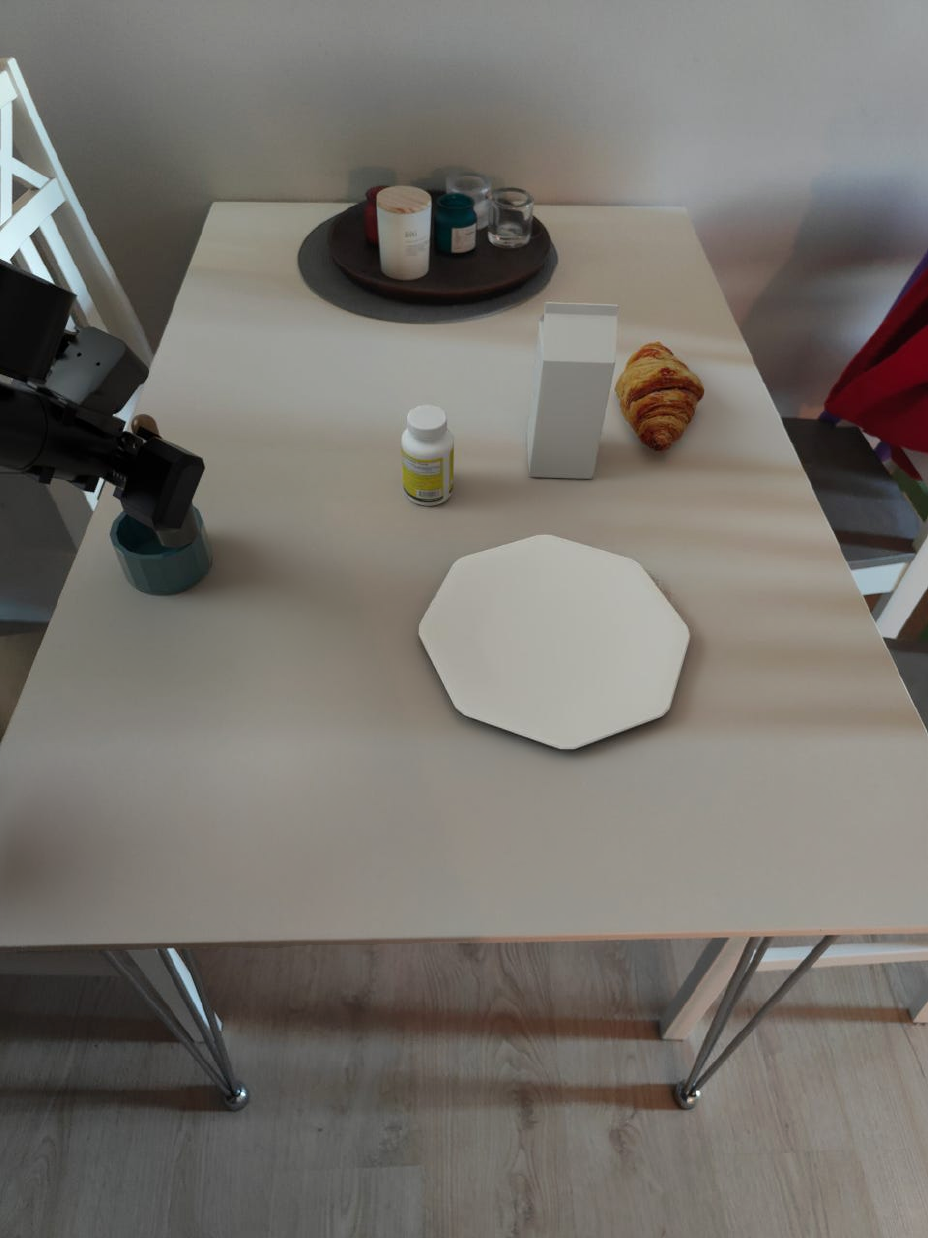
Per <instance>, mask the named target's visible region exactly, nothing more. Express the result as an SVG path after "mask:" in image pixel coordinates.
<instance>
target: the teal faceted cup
mask: <svg viewBox="0 0 928 1238" xmlns="http://www.w3.org/2000/svg"><path fill="white" fill-rule="evenodd" d="M193 506H194V510H195V513H196V517H197V520H198V524H199V527H200V531H199V534H198V536H197V538H196V539H195V540H194V541H193V542H191V543H189V544H187V545H185V546H182V547H176V548H171V547H166V546H163V545H161V544H160V543H159V542H158V541H157V540H156V538H155V535H154V532H153V530H152V528H150V527H148V526H147V525H145V524H143V523H142V522H140V521H138V520H136V519H135V518H133V517H131V516H129V515H128V514H126V513H124V510H123V509H122V511H121V512H120V513H119V515H117V517H115V519H114V520H113V521H112V525H111V527H110V531H109V538H110V541H111V544H112V548H113V550H114V552H115V554H116V557H117V560H118V562H119V565H120V567H121V569H122V571H123V574H124V576H125V578H126V580H127V582H128V583H129V584H130V585H131V586H132V587H133V588H135V589H136V590H138V591H140V592H142V593H144V594H149V595H155V596H166V595H167V596H168V595H173V594H178V593H181V592H184V591H186V590H188V589H190V588H192V587H195V586H196V585H197V584H198V583H200V582H201V581H202V580H203V579H204V578H205V577H206V576H207V574H208V573H209V571H210V569H211V567H212V563H213V551H212V548H211V544H210V539H209V537H208V533H207V530H206V526H205V523H204V519H203V517H202V515H201V512H200V510H199V508H198V507H196V506H195V505H193Z"/></svg>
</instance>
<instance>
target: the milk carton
mask: <svg viewBox="0 0 928 1238" xmlns="http://www.w3.org/2000/svg"><path fill="white" fill-rule="evenodd" d="M619 309H620V305H619V304H615V303H614V304H613V303H612V304H611V303H589V302H588V303H586V302H585V303H583V302H561V301H559V302H558V301H557V302H556V301H545V303H544V311H543V312H542V313H543V314H542V315H541V317H540V319H539V324H538V333H537V339H536V340H537V341H536V351H535V359H534V366H533V367H534V369H533V377H532V386H531V394H530V395H531V396H530V404H529V413H528V422H527V429H526V430H527V431H526V444H527V445H526V446H527V447H526V448H527V462H528V476H529V477H530V478H551V479H579V480H580V479H581V480H591V479H594V474H595V471H596V470H595V469H596V464H597V459H598V454H599V449H600V445H601V438H602V433H603V428H604V427H603V426H604V424H605V418H606V413H607V408H608V402H609V398H610V392H611V388H612V381H613V377H614V373H615V367H616V364H617V363H616V361H617V336H618V334H617V333H618V316H619V315H618V313H619Z"/></svg>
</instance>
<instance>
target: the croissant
mask: <svg viewBox="0 0 928 1238" xmlns="http://www.w3.org/2000/svg"><path fill="white" fill-rule="evenodd" d="M614 392H615V393H616V397H617V398H618V400H619V409H620V411H621V413H622V415H623V417H624V419H625V420H626V421H627V423H628V424H629V426H630V427H631V428H632V429H633V431H634V433H635V434H636V435H637V438H638V439H639V441H640V442H641V444H643V445H644V446H645V447H648V448H649V449H652V450H653V451H655V452H665V451H668V450H669V449H670V448H671V446H672V444H674V443H675V442H677V441H678V440H680V439H681V438H682V436H683V435H684V433H685V430H686V428H687V427H688V426H689V424H691V422H692V420H693V419H694V417H695V414H696V412H697V406H698V403H699V402H700V401H701V400H702V399H703V398H704V395H705V387H704V384H703V383H702V381H701V379H700V378H699V376H698V375H697V374H695V373H693V371H691V370H690V368H689V367H688V365H686V364H685V363H684V362H683V361H682V360H680V359H679V358H678V357H676V356H675V354H674V353H673V351H671V349H670V348H668V347H667V346H665V345H663V344H662V343H661V342H660V341H659V340H657V341H655V342H648V343H646V344H644V345H642V346H641V347H640V348H639V349H638V350H637V351H636V352H634V353H633V354H631V356H630V357H629V358H628V360H627V362H626V364H625V367H624V370H623V372H622V373H621V375H619V377H618V379H617V381H616V382H615V386H614Z"/></svg>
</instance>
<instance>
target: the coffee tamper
mask: <svg viewBox="0 0 928 1238" xmlns="http://www.w3.org/2000/svg"><path fill="white" fill-rule="evenodd" d="M139 426H142V427H144V428H146V429H147V430H149V431H151V432H153V433H155V434H157V435H159V436H161V434H160V431H159V427H158V424H157V421H156V420H155V418H153V417H152V416H151V415H150V414H147V413H140V414H137V415H135V416H133V418H132V419H131V423H130V430H131V433H133V434H135V435H136V433H137V430H138V428H139ZM194 506H195V505H194V504H193V501H192V502H191V505H190V507H189V510H188V512H187V515H186V517H185V520H184V522H183V525H182V527H181V530H179V531H176V532H174V533H168V532H161V531H155V530H154V529H152V530H153V532H154V535H155V538H156V540H157V541H158V542H159V543H160V544H161V545H163V546H166V547H171V548H176V547H182V546H185V545H187V544H189V543H191V542H193V541H194V540H195V539H196V538H197V536H198V534H199V531H200V527H199V524H198V520H197V517H196V513H195V510H194Z"/></svg>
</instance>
